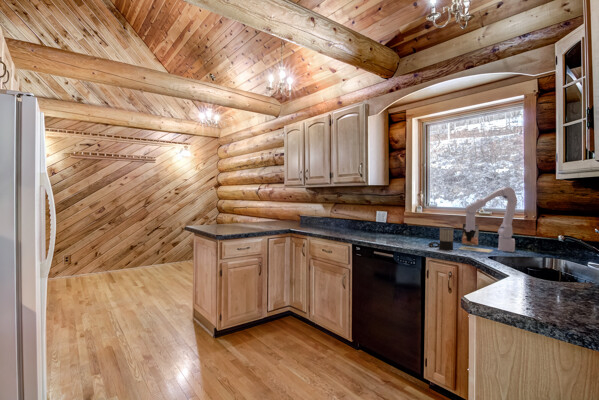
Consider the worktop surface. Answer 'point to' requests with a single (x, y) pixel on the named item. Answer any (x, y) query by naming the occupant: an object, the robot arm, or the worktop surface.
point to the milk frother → (444, 239)
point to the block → (473, 240)
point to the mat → (476, 249)
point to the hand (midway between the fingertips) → (470, 241)
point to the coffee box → (474, 234)
